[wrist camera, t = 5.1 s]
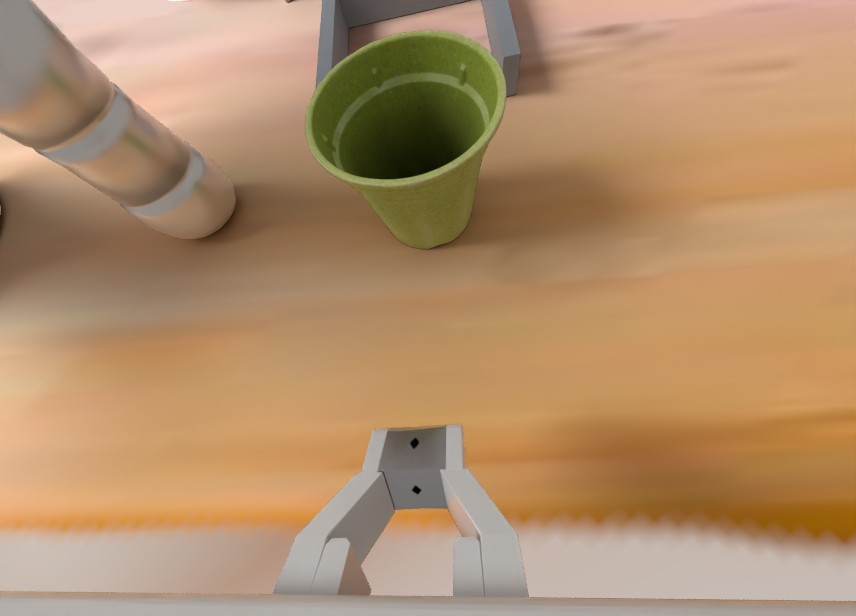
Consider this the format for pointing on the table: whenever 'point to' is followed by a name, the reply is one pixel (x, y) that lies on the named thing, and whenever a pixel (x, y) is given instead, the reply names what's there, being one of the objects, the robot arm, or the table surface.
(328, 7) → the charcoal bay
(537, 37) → the table surface
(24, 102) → the plastic bottle
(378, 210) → the plant pot
